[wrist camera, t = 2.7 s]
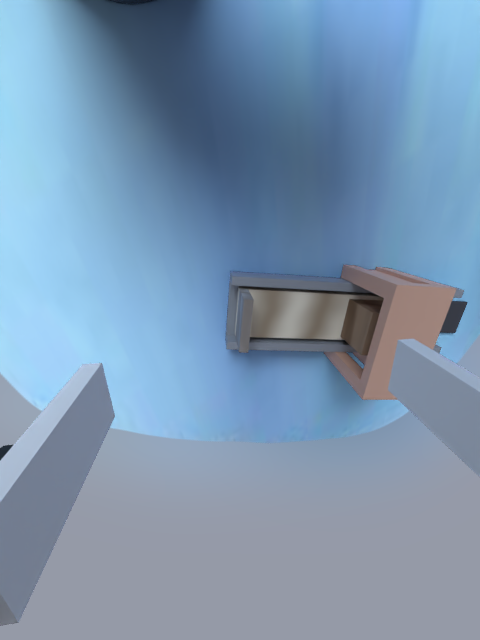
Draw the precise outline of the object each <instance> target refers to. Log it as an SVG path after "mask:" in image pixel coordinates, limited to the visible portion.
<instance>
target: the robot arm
mask: <svg viewBox="0 0 480 640" xmlns="http://www.w3.org/2000/svg"><path fill="white" fill-rule="evenodd" d="M110 1H114V2H118V3H128V4H135V3H144V2H148V1H152V0H110ZM388 391H390V392H391V393H392V394H393V395H394V396H395V397H396V398H397V399H398V400H399V401H400V402H401V403H402V404H403V405H404V406H405V407H406V408H407V409H408V410H409V411H411V412H412V413H413V414H414V415H415V416H416V417H417V418H418V419H419V420H420V421H421V422H422V423H423V424H424V425H425V426H426V427H427V428H428V429H429V430H431V431H432V432H433V433H434V434H435V435H436V436H437V437H438V438H439V439H440V440H441V441H442V442H443V443H444V444H445V445H446V446H447V447H449V449H451V450H452V451H453V452H454V453H455V454H456V455H457V456H458V457H459V458H460V459H461V460H462V461H463V462H464V463H465V464H466V465H467V466H468V467H469V468H470V469H471V470H473V471H474V472H475V473H476V474H477V475H478V476H479V477H480V377H478V376H477V375H475V374H473V373H471V372H470V371H468V370H466V369H465V368H463V367H461V366H459V365H458V364H456V363H454V362H453V361H451V360H449V359H447V358H446V357H444V356H442V355H441V354H439V353H437V352H435V351H434V350H432V349H430V348H429V347H427V346H425V345H424V344H422V343H420V342H418V341H417V340H415V339H402V340H398V342H397V347H396V352H395V357H394V362H393V367H392V371H391V376H390V381H389V386H388ZM114 417H115V415H114V411H113V406H112V402H111V398H110V394H109V390H108V386H107V382H106V378H105V374H104V369H103V365H102V363H94V364H82V366H81V367H80V368H79V369H78V370H77V371H76V373H75V374H74V375H73V376H72V377H71V378H70V380H69V381H68V382H67V383H66V384H65V386H64V387H63V388H62V389H61V390H60V391H59V393H58V394H57V395H56V396H55V397H54V398H53V400H52V401H51V402H50V403H49V404H48V405H47V407H46V408H45V409H44V410H43V411H42V412H41V414H40V415H39V416H38V417H37V418H36V419H35V421H34V422H33V423H32V424H31V425H30V427H29V428H28V429H27V430H26V431H25V433H24V434H23V435H22V436H21V437H20V438H19V439H18V441H17V442H16V443H15V444H14V445H7V446H3V447H1V448H0V626H1V625H7V624H14V623H18V622H19V620H20V618H21V616H22V614H23V612H24V610H25V608H26V605H27V603H28V601H29V599H30V597H31V595H32V592H33V590H34V588H35V586H36V584H37V582H38V580H39V578H40V575H41V573H42V571H43V569H44V567H45V565H46V563H47V560H48V558H49V556H50V554H51V552H52V550H53V547H54V546H55V543H56V541H57V539H58V537H59V535H60V533H61V531H62V528H63V526H64V524H65V522H66V520H67V518H68V516H69V513H70V511H71V509H72V507H73V505H74V503H75V501H76V498H77V496H78V494H79V492H80V490H81V488H82V486H83V483H84V481H85V479H86V477H87V475H88V473H89V471H90V468H91V466H92V464H93V462H94V460H95V458H96V456H97V453H98V451H99V449H100V447H101V445H102V443H103V441H104V438H105V436H106V434H107V432H108V430H109V428H110V426H111V423H112V421H113V419H114Z"/></svg>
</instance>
